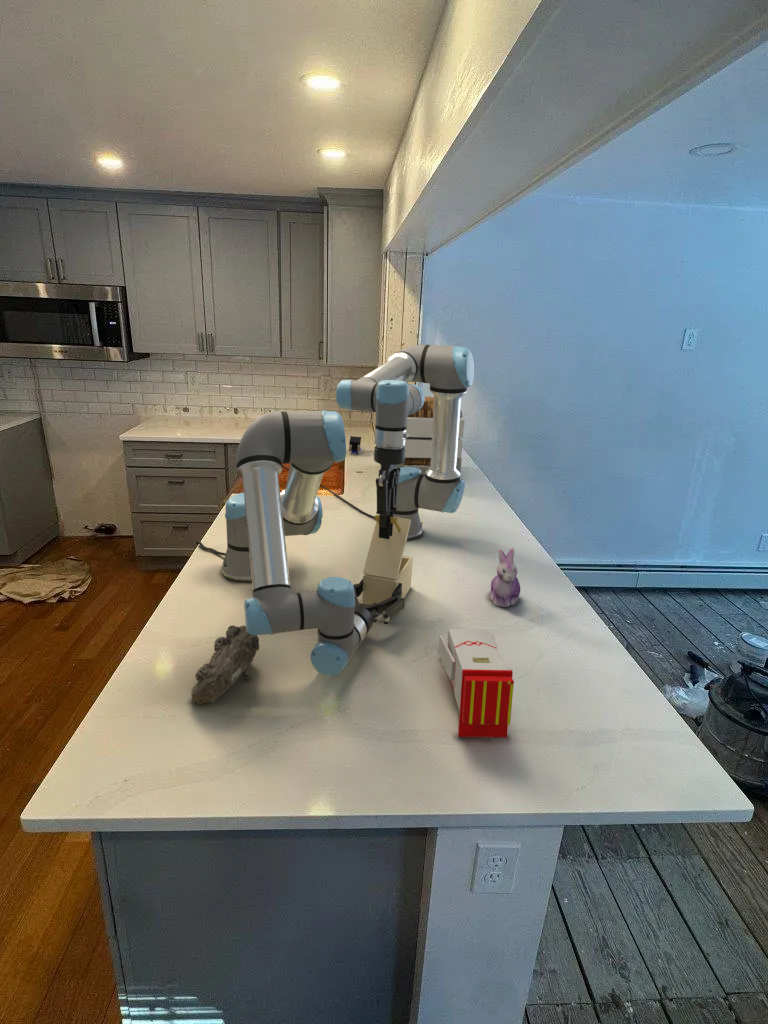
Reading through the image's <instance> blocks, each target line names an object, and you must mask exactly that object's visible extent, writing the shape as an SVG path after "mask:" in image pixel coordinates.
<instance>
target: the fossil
mask: <svg viewBox="0 0 768 1024" xmlns="http://www.w3.org/2000/svg"><path fill="white" fill-rule="evenodd" d="M213 647H214V649H213V650H214V652H213V654H212V656H211V658H210V659H209V661H208V663H205V664H203V665H202V666H201V667H200V668H198V670H197V671H196V673H195V676H194V677H195V679H196V681H197V682H196V683H195V685H194V686H193V687H192V688H191V700H192V702H193V703H197V704H198V705H203V704H207V703H214V702H215V701H216V700H218V698H219V697H221V696H222V695H223V694H224V693H226V692H227V690H228V689H229V688H231V686H233V684H235V683H236V682H237V680H238V678H239V677H240V676H241V675H243V676H244V677H245V678H249V675H248V674H247V673H246V672H245V669H246V668H247V667H248V666H250V665H251V663H253V662H254V658H255V656H256V654H257V652H259V650H260V637H259V635H250V634H249V633H248V632H247V630H246V625H240V626H236V625H234V624H233V625H229V626H228V627H227V630H226V631H225V636H220V637H219V636H218V637H217V638H216V639H215V641H214V645H213Z"/></svg>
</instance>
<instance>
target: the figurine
mask: <svg viewBox="0 0 768 1024" xmlns="http://www.w3.org/2000/svg"><path fill="white" fill-rule="evenodd" d="M514 558H515V548H514V547H512V548H511V549H509V551H508V553H507V555H506V554H505V551H503V549H501V548H499V549H498V565H497V568H496V574H497V575H495V576H494V577H493V578H492V579H491V582H490V591H489V599H490V600H491V601H492V602H493V604H494V605H495V606H497V607H503V608H507V607H510V606H514V605H516V603H518V601H519V597H520V594H521V584H520V581H519V579H518V577H517V576H518V569H517V567H516V564H515V561H514Z"/></svg>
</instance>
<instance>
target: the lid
mask: <svg viewBox="0 0 768 1024" xmlns="http://www.w3.org/2000/svg"><path fill="white" fill-rule="evenodd" d="M374 516H375V518H374V521H375V525H374V529H373V533H372V536H371V539H370V544H369V547H368V551H367V555H366V560H365V563H364V567H363V571H362V574H363V576H364V575H369V576H375V577H380V578H386V579H391V580H397V578H398V574H399V569H400V565H401V561H402V557H403V556H404V552H405V549H406V545H407V541H408V540H407V536H408V532H409V528H410V524H411V520H410V519H405V518H398V517H391V522H390V523H392V524H393V532H392V536H390V538H389V539H384V538H379V519H380V514H375V515H374Z"/></svg>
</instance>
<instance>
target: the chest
mask: <svg viewBox="0 0 768 1024" xmlns="http://www.w3.org/2000/svg"><path fill="white" fill-rule="evenodd" d="M412 573H413V557H409V556H404V555H403V557H402V561H401V565H400V569H399V574H398V578H397V580H391V579H386V578H380V577H375V576H369V575H364V574H363V577H362V579H363V592H362V602H361V603H363V604H366V605H371V604H373V603H375V602H376V603H379V602H382V601H384V600H386V599H388V598H390V597H392V593H393V592H394V590H395V589H396V587H397V586H398V584H399V583H402V598H404V599H406V596H407V594H408V593H409V591H410V589H411V588H412V575H413V574H412Z"/></svg>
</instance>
